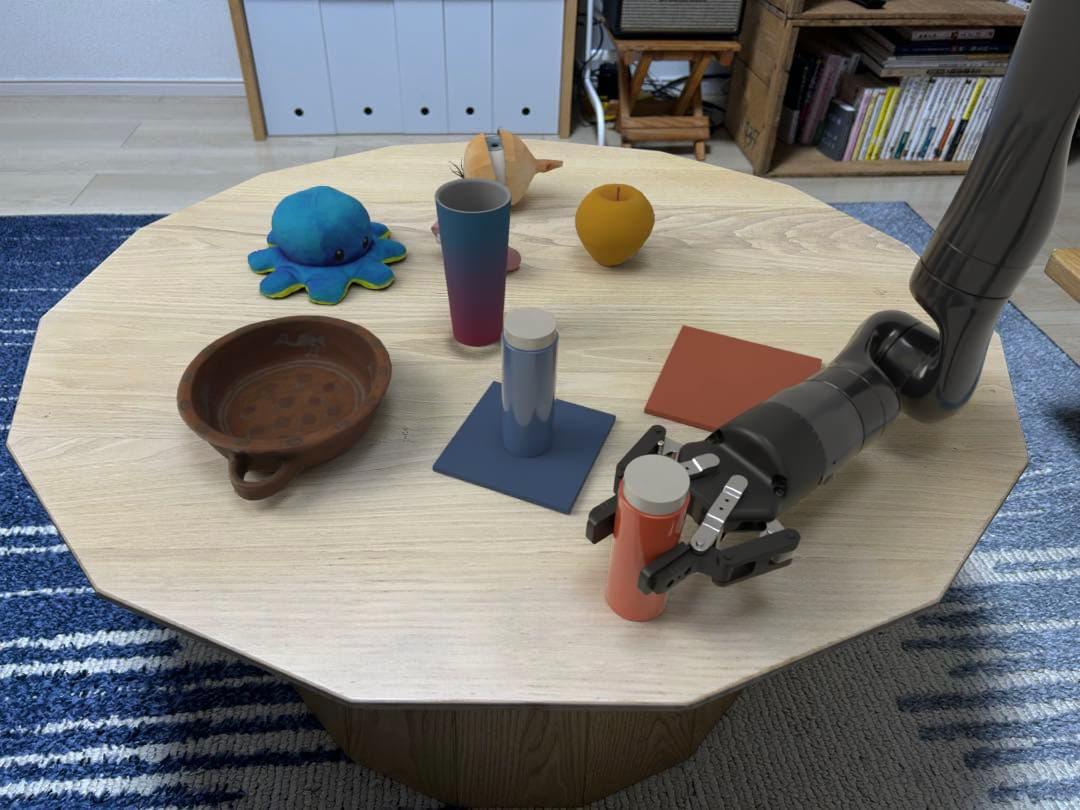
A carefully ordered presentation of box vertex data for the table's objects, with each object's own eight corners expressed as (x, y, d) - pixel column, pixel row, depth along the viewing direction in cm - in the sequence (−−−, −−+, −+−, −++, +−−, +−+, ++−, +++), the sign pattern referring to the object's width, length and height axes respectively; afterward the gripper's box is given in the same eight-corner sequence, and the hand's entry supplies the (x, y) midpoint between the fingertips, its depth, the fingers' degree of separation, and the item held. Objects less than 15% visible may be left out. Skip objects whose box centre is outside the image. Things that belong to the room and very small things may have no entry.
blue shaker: (561, 430, 66) (568, 313, 58) (542, 463, 63) (546, 345, 55) (514, 416, 68) (515, 300, 60) (493, 448, 64) (491, 331, 56)
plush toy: (286, 220, 94) (272, 154, 89) (421, 233, 92) (415, 167, 87) (224, 294, 82) (203, 223, 76) (378, 311, 80) (369, 240, 75)
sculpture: (431, 130, 96) (548, 97, 95) (452, 191, 103) (560, 161, 102) (439, 174, 90) (562, 139, 89) (460, 234, 97) (575, 203, 96)
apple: (653, 282, 86) (663, 208, 80) (573, 279, 86) (577, 206, 80) (646, 242, 92) (655, 171, 86) (572, 239, 92) (576, 168, 86)
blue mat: (615, 420, 68) (616, 415, 68) (568, 515, 60) (569, 510, 60) (493, 385, 72) (493, 380, 71) (432, 470, 63) (432, 465, 63)
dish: (408, 342, 76) (404, 300, 73) (381, 511, 60) (374, 467, 56) (230, 341, 76) (217, 299, 72) (153, 513, 59) (132, 468, 56)
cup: (457, 358, 74) (449, 218, 65) (435, 320, 79) (424, 184, 69) (521, 342, 77) (523, 204, 67) (496, 306, 81) (494, 172, 71)
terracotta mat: (820, 363, 75) (822, 359, 75) (800, 456, 66) (802, 451, 65) (681, 329, 79) (682, 324, 79) (643, 412, 69) (644, 407, 69)
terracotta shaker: (673, 581, 56) (700, 463, 48) (657, 630, 53) (683, 514, 44) (616, 561, 57) (632, 444, 49) (596, 609, 54) (611, 491, 46)
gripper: (722, 358, 59) (547, 452, 51) (885, 467, 50) (707, 600, 42) (706, 429, 64) (544, 525, 56) (851, 539, 55) (686, 670, 47)
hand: (616, 557), depth 49 cm, fingers closed on terracotta shaker, 4 cm apart
